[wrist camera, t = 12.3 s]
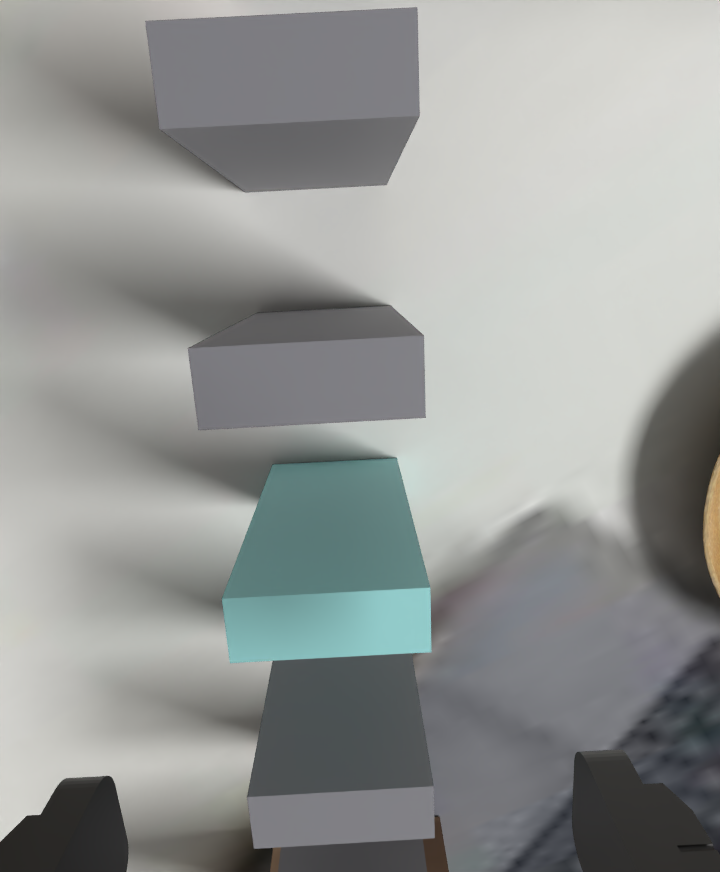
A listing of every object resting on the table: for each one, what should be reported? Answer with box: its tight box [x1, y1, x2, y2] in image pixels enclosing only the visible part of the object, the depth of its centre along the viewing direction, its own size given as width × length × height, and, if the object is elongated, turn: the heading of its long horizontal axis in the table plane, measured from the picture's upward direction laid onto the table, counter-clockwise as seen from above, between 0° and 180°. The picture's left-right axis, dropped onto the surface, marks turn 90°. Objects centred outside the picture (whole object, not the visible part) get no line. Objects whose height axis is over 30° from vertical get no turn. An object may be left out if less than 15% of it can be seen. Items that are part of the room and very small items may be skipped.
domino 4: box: [247, 653, 435, 849], centre depth 21 cm, size 2×5×10 cm, turn 93°
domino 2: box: [188, 306, 426, 430], centre depth 18 cm, size 2×5×10 cm, turn 93°
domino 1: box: [145, 7, 420, 192], centre depth 16 cm, size 2×5×10 cm, turn 93°
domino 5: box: [278, 839, 427, 872], centre depth 23 cm, size 2×5×10 cm, turn 93°
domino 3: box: [222, 458, 431, 663], centre depth 19 cm, size 2×5×10 cm, turn 93°
